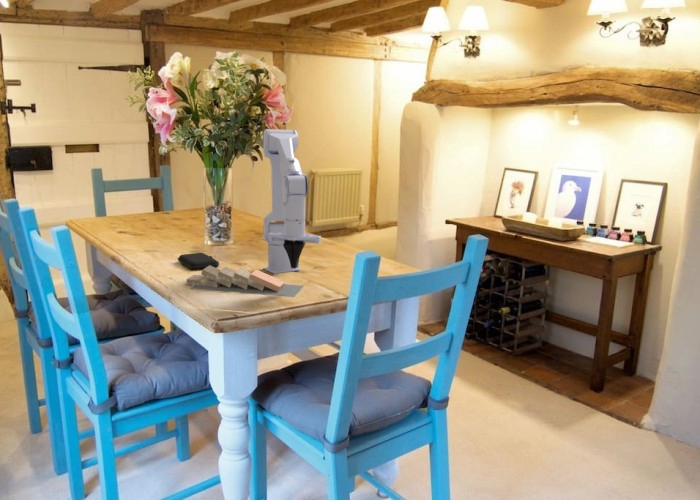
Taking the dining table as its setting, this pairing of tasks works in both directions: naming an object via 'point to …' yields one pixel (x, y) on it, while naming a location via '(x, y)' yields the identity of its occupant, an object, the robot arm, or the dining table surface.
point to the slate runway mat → (284, 291)
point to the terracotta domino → (266, 280)
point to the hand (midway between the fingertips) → (294, 267)
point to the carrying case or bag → (197, 261)
